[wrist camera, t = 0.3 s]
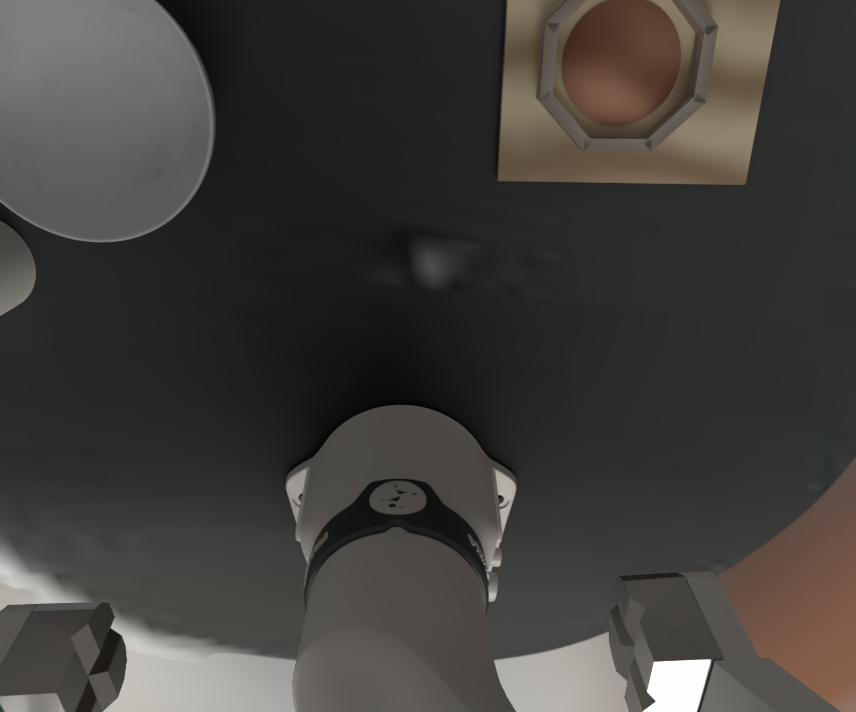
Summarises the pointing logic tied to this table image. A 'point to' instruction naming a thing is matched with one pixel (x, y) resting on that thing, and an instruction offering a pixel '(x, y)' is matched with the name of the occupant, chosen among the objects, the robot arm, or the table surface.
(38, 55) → the chinaware
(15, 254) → the cylindrical container
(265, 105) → the table surface
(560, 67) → the collar board
